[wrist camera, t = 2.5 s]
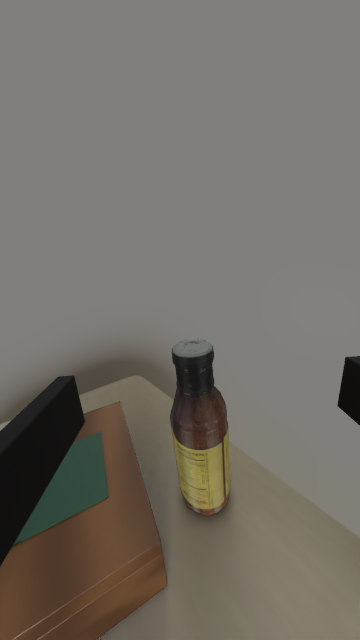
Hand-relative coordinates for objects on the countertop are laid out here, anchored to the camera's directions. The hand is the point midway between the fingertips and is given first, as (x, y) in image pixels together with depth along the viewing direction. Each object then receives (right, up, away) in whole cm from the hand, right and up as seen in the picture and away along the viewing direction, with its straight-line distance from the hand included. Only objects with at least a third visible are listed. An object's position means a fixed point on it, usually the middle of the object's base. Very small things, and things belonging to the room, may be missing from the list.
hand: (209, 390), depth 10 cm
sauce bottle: (+2, -18, +15) cm, 24 cm away
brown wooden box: (-13, -19, +14) cm, 27 cm away
